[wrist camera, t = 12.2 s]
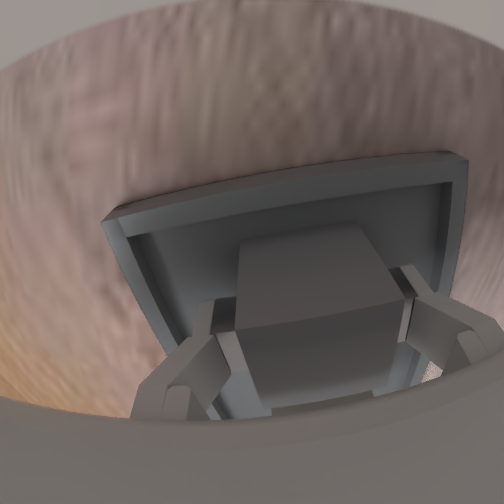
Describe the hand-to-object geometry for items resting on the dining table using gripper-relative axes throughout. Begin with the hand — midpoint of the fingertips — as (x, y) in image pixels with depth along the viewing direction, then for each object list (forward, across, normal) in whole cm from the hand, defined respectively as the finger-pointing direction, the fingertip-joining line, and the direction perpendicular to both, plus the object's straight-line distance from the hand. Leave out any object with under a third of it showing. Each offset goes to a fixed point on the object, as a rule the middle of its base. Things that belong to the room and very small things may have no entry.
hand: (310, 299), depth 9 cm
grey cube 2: (+1, 0, 0) cm, 1 cm away
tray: (+2, 0, +6) cm, 6 cm away
